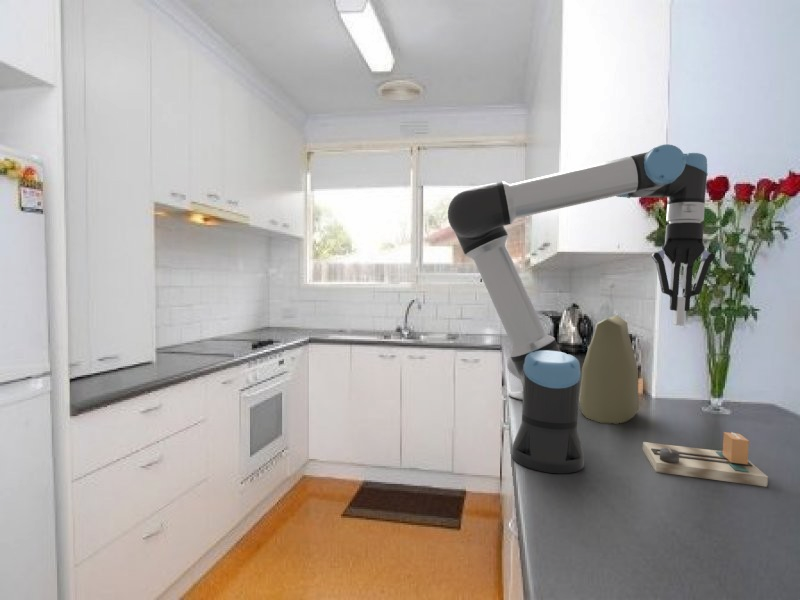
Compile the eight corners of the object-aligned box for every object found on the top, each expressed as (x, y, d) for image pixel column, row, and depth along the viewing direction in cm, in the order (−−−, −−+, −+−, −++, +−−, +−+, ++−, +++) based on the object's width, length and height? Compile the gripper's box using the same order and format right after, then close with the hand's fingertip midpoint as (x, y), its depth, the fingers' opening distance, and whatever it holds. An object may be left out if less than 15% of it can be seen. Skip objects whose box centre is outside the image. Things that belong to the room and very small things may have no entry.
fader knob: (730, 462, 101) (732, 438, 101) (722, 454, 106) (723, 431, 106) (747, 464, 101) (749, 439, 100) (738, 456, 105) (739, 432, 105)
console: (655, 471, 101) (657, 452, 101) (642, 450, 115) (643, 432, 115) (767, 486, 96) (768, 466, 96) (739, 461, 109) (740, 443, 109)
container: (585, 401, 161) (590, 312, 160) (641, 410, 153) (647, 316, 151) (570, 417, 141) (575, 315, 140) (633, 429, 132) (639, 320, 131)
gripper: (657, 221, 109) (651, 324, 110) (722, 221, 106) (716, 328, 107) (650, 225, 116) (644, 322, 117) (711, 225, 113) (705, 325, 114)
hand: (678, 324), depth 112 cm, fingers closed
